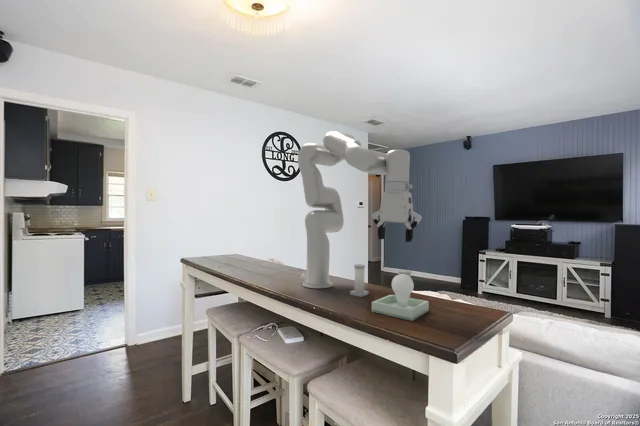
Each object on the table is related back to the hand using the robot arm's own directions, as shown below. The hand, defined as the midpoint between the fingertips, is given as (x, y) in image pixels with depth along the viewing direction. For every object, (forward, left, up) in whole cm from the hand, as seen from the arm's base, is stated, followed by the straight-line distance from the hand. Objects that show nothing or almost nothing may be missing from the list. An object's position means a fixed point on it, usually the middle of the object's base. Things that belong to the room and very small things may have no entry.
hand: (394, 240), depth 105 cm
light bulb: (+5, -5, -21) cm, 22 cm away
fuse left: (-17, +6, -22) cm, 28 cm away
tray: (+4, -4, -22) cm, 22 cm away
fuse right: (+1, +6, -22) cm, 23 cm away
